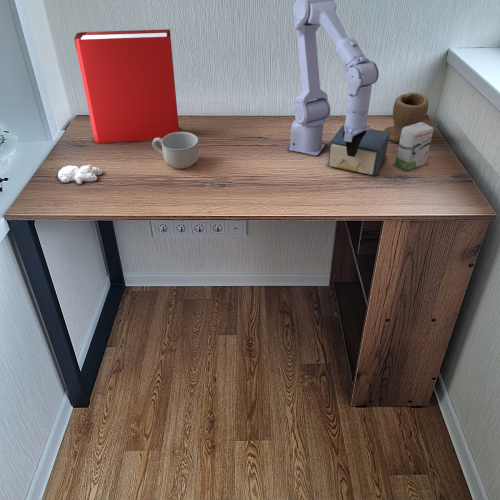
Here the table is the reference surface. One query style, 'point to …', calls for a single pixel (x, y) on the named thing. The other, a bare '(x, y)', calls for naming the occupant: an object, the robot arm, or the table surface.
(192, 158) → the teacup
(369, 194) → the table surface
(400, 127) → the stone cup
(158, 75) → the book
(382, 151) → the cabinet
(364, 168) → the drawer
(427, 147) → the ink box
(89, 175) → the white plush toy
